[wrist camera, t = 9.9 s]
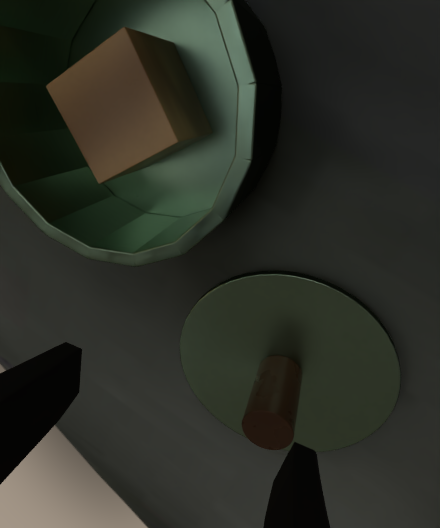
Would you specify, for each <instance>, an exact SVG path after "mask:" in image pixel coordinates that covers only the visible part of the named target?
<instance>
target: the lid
mask: <svg viewBox="0 0 440 528" xmlns="http://www.w3.org/2000/svg"><path fill="white" fill-rule="evenodd" d="M180 357H181V363H182V367H183V371H184V374H185V376H186V379H187V381H188V383H189V385H190V387H191V389H192V390H193V392H194V393H195V395H196V396H197V398H198V399H199V401H200V402H201V403H202V404H203V405H204V406H205V408H206V409H207V410H208V411H209V412H210V413H211V414H212V415H213V416H215V417H216V418H217V419H218V420H219V421H221V422H222V423H223V424H224V425H226V426H227V427H229V428H230V429H232V430H233V431H235V432H237V433H239V434H240V435H242V436H244V437H246V438H248V439H249V440H250V441H251V442H253V443H254V444H256V445H257V446H259V447H262V448H265V449H269V450H280V449H282V450H287V451H290V449H291V447H292V445H293V443H294V442H296V443H299V444H301V445H303V446H306V447H308V448H310V449H313V450H315V452H324V451H331V450H336V449H340V448H344V447H347V446H350V445H352V444H355V443H357V442H359V441H361V440H363V439H364V438H366V437H368V436H370V435H371V434H372V433H373V432H375V431H376V430H377V429H378V428H379V427H380V426H381V425H382V424H383V423H384V422H385V421H386V420H387V418H388V417H389V415H390V414H391V412H392V411H393V409H394V407H395V404H396V402H397V399H398V396H399V391H400V387H401V371H400V365H399V359H398V355H397V352H396V349H395V346H394V343H393V341H392V339H391V337H390V335H389V333H388V331H387V330H386V328H385V327H384V326H383V324H382V323H381V321H380V320H379V319H378V317H377V316H376V315H375V314H374V313H373V312H372V311H371V310H370V309H369V308H368V307H367V306H366V305H364V304H363V303H362V302H361V301H360V300H358V299H357V298H356V297H355V296H353V295H351V294H350V293H348V292H347V291H345V290H343V289H342V288H340V287H338V286H336V285H334V284H332V283H329V282H327V281H325V280H322V279H319V278H316V277H313V276H310V275H306V274H301V273H297V272H290V271H279V270H273V271H257V272H251V273H245V274H242V275H238V276H235V277H232V278H230V279H228V280H225V281H223V282H221V283H219V284H218V285H216V286H215V287H213V288H211V289H210V290H209V291H208V292H207V293H205V294H204V295H203V296H202V297H201V298H200V299H199V301H198V302H197V303H196V304H195V305H194V307H193V308H192V310H191V311H190V313H189V315H188V316H187V318H186V321H185V323H184V326H183V328H182V333H181V338H180Z"/></svg>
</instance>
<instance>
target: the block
mask: <svg viewBox="0 0 440 528" xmlns="http://www.w3.org/2000/svg"><path fill="white" fill-rule="evenodd" d="M46 88H47V90H48V91H49V93H50V95H51V97H52V99H53V101H54V102H55V104H56V106H57V108H58V110H59V112H60V113H61V115H62V117H63V119H64V121H65V123H66V124H67V126H68V128H69V130H70V132H71V134H72V136H73V137H74V139H75V141H76V143H77V145H78V147H79V148H80V150H81V152H82V154H83V156H84V158H85V159H86V161H87V163H88V165H89V167H90V169H91V170H92V172H93V174H94V176H95V178H96V180H97V181H98V183H99V184H101V183H104V182H107V181H110V180H113V179H116V178H118V177H121V176H124V175H127V174H130V173H132V172H135V171H138V170H141V169H144V168H146V167H148V166H150V165H152V164H154V163H156V162H158V161H160V160H162V159H164V158H166V157H167V156H169V155H171V154H173V153H175V152H177V151H179V150H181V149H183V148H185V147H187V146H189V145H191V144H193V143H195V142H196V141H198V140H200V139H202V138H204V137H206V136H208V135H210V134H212V133H213V131H212V129H211V127H210V124H209V122H208V120H207V118H206V115H205V113H204V111H203V108H202V106H201V104H200V102H199V99H198V97H197V95H196V92H195V90H194V88H193V86H192V83H191V81H190V79H189V77H188V74H187V72H186V70H185V67H184V65H183V63H182V61H181V58H180V56H179V54H178V51H177V49H176V47H175V45H174V43H173V42H171V41H168V40H165V39H161V38H158V37H155V36H152V35H149V34H146V33H143V32H140V31H137V30H134V29H131V28H128V27H123V28H121V29H120V30H119V31H118V32H116V33H115V34H114V35H112V36H111V37H110V38H108V39H107V40H106V41H104V42H103V43H102V44H100V45H99V46H98V47H96V48H95V49H94V50H93V51H91V52H90V53H89V54H87V55H86V56H85V57H83V58H82V59H81V60H79V61H78V62H77V63H75V64H74V65H73V66H71V67H70V68H69V69H68V70H66V71H65V72H64V73H62V74H61V75H60V76H58V77H57V78H56V79H54V80H53V81H52V82H50V83H49V84H48V85H46Z"/></svg>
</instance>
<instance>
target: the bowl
mask: <svg viewBox="0 0 440 528" xmlns="http://www.w3.org/2000/svg"><path fill="white" fill-rule="evenodd" d="M123 27H128V28H131V29H134V30H137V31H140V32H143V33H146V34H149V35H152V36H155V37H158V38H161V39H165V40H168V41H171V42H173V43H174V45H175V47H176V49H177V51H178V54H179V56H180V58H181V61H182V63H183V65H184V67H185V70H186V72H187V74H188V77H189V79H190V81H191V83H192V86H193V88H194V90H195V92H196V95H197V97H198V99H199V102H200V104H201V106H202V108H203V111H204V113H205V115H206V118H207V120H208V122H209V124H210V127H211V129H212V131H213V133H212V134H210V135H208V136H206V137H204V138H202V139H200V140H198V141H196V142H195V143H193V144H191V145H189V146H187V147H185V148H183V149H181V150H179V151H177V152H175V153H173V154H171V155H169V156H167V157H166V158H164V159H162V160H160V161H158V162H156V163H154V164H152V165H150V166H148V167H146V168H144V169H141V170H138V171H135V172H132V173H130V174H127V175H124V176H121V177H118V178H116V179H113V180H110V181H107V182H104V183H101V184H99V183H98V181H97V180H96V178H95V176H94V174H93V172H92V170H91V169H90V167H89V165H88V163H87V161H86V159H85V158H84V156H83V154H82V152H81V150H80V148H79V147H78V145H77V143H76V141H75V139H74V137H73V136H72V134H71V132H70V130H69V128H68V126H67V124H66V123H65V121H64V119H63V117H62V115H61V113H60V112H59V110H58V108H57V106H56V104H55V102H54V101H53V99H52V97H51V95H50V93H49V91H48V90H47V88H46V85H48V84H49V83H50V82H52V81H53V80H54V79H56V78H57V77H58V76H60V75H61V74H62V73H64V72H65V71H66V70H68V69H69V68H70V67H71V66H73V65H74V64H75V63H77V62H78V61H79V60H81V59H82V58H83V57H85V56H86V55H87V54H89V53H90V52H91V51H93V50H94V49H95V48H96V47H98V46H99V45H100V44H102V43H103V42H104V41H106V40H107V39H108V38H110V37H111V36H112V35H114V34H115V33H116V32H118V31H119V30H120V29H121V28H123ZM281 86H282V85H281V81H280V77H279V72H278V68H277V63H276V59H275V56H274V53H273V50H272V47H271V44H270V41H269V39H268V35H267V31H266V29H265V27H264V25H263V24H262V23H261V21H260V20H259V19H258V18H257V16H256V15H255V14H254V12H253V11H252V10H251V8H250V7H249V5H248V4H247V3H246V2H245V1H244V0H0V184H1V186H2V188H3V190H4V192H5V193H6V194H7V195H8V196H9V197H10V198H11V199H12V200H13V201H14V203H15V204H16V205H17V206H18V207H19V208H20V209H21V210H22V211H23V212H24V213H25V214H26V215H27V216H28V217H29V218H30V219H31V220H32V221H33V223H34V224H35V225H36V226H37V227H38V228H39V229H40V230H41V231H42V232H43V233H44V234H45V235H47V236H49V237H50V238H52V239H54V240H56V241H58V242H59V243H61V244H63V245H65V246H66V247H68V248H70V249H72V250H73V251H75V252H77V253H79V254H80V255H82V256H84V257H86V258H87V259H92V260H98V261H104V262H109V263H115V264H121V265H127V266H133V267H136V266H137V267H138V266H142V265H146V264H150V263H154V262H158V261H162V260H166V259H169V258H173V257H177V256H181V255H183V254H185V253H187V252H188V251H189V250H190V249H191V248H192V247H194V246H195V245H196V244H197V243H198V242H200V241H201V240H202V239H203V238H204V237H205V236H207V235H208V234H209V233H210V232H211V231H213V230H214V229H215V228H216V227H217V226H218V225H220V224H221V223H222V222H223V221H224V220H225V219H226V218H227V217H228V216H229V215H230V214H231V213H232V212H233V211H234V210H235V209H236V208H237V207H238V206H239V205H240V204H241V203H242V202H243V201H244V199H245V198H246V197H247V196H248V195H249V194H250V193H251V192H252V191H253V190H254V189H255V187H256V185H257V183H258V181H259V179H260V177H261V175H262V174H263V172H264V170H265V169H266V167H267V165H268V163H269V160H270V158H271V155H272V153H273V151H274V149H275V147H276V144H277V138H278V132H279V125H280V119H281V93H282V88H281Z"/></svg>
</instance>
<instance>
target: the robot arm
mask: <svg viewBox="0 0 440 528" xmlns="http://www.w3.org/2000/svg"><path fill="white" fill-rule="evenodd" d="M81 355H82V349H81V348H78V347H76V346H74V345H71V344H69V343H67V342H65V343H63V344H61V345H59V346H56V347H54V348H52V349H50V350H48V351H46V352H44V353H42V354H40V355H38V356H36V357H34V358H32V359H30V360H28V361H26V362H24V363H22V364H19V365H17V366H15V367H13V368H11V369H9V370H7V371H4V372H3V373H0V484H1V483H2V482H3V481H4V480H5V479H6V478H7V476H8V475H9V474H10V473H11V472H12V471H13V470H14V469H15V468H16V467H17V466H18V465H19V463H20V462H21V461H22V460H23V459H24V458H25V457H26V456H27V455H28V454H29V452H30V451H31V450H32V449H33V448H34V447H35V446H36V445H37V444H38V442H40V441H41V440H42V438H43V437H44V436H45V435H46V434H47V433H48V432H49V431H50V430H51V428H52V427H53V426H54V425H55V424H56V423H57V422H58V421H59V419H60V418H61V417H62V415H63V414H64V413H65V411H66V410H67V409H68V407H69V406H70V404H71V403H72V402H73V400H74V399H75V397H76V396H77V395H78V393H79V387H80V371H81ZM264 528H330V525H329V520H328V516H327V511H326V507H325V501H324V496H323V491H322V486H321V480H320V474H319V467H318V460H317V454H316V452H315V450H313V449H310V448H308V447H306V446H303V445H301V444H299V443H296V442H294V443H293V445H292V447H291V449H290V451H289V453H288V455H287V457H286V459H285V461H284V462H283V464H282V466H281V468H280V470H279V472H278V474H277V476H276V478H275V480H274V481H273V486H272V490H271V494H270V498H269V503H268V507H267V511H266V516H265V521H264Z"/></svg>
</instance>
